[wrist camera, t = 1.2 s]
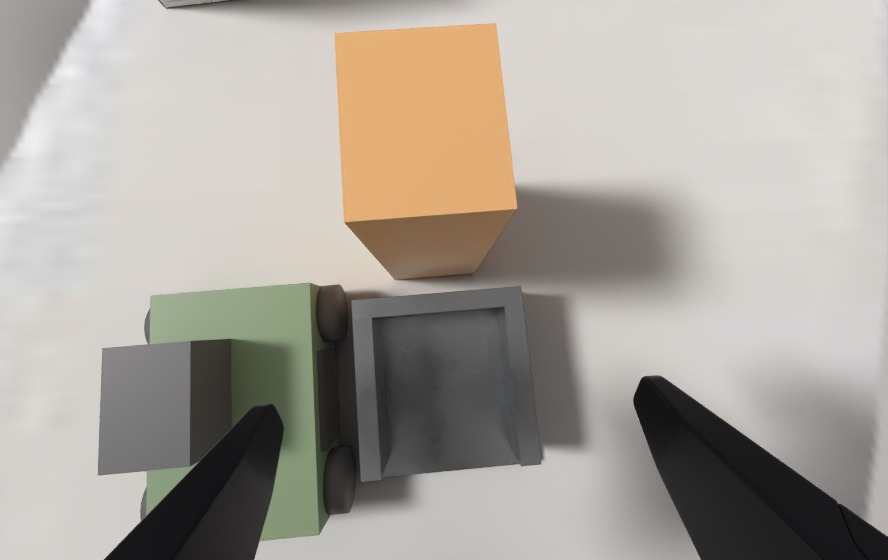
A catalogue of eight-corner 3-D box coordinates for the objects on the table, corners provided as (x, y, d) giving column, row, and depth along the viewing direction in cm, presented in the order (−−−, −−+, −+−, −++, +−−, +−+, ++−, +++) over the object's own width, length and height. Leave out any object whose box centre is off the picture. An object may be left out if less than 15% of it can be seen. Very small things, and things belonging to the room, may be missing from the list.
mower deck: (357, 496, 21) (317, 579, 14) (185, 513, 21) (58, 606, 14) (346, 287, 23) (306, 270, 16) (186, 300, 22) (73, 288, 15)
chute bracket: (534, 459, 21) (553, 484, 18) (365, 475, 21) (351, 504, 18) (516, 291, 23) (530, 285, 19) (356, 305, 22) (341, 300, 19)
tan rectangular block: (474, 273, 23) (517, 208, 10) (394, 279, 23) (344, 222, 10) (465, 182, 24) (496, 23, 11) (388, 188, 23) (334, 33, 11)
